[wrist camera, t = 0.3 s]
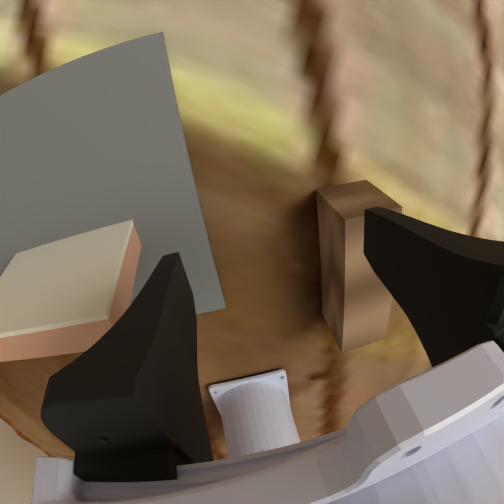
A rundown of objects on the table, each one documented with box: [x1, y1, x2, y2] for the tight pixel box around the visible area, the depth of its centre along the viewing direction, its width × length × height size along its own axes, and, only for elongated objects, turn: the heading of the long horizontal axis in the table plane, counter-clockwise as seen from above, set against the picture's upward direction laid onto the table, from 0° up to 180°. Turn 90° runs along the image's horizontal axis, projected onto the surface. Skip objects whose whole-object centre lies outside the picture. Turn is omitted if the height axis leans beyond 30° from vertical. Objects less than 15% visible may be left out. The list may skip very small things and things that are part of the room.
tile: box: [0, 220, 141, 362], centre depth 16 cm, size 2×10×9 cm, turn 99°
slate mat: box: [0, 32, 226, 314], centre depth 19 cm, size 20×19×1 cm
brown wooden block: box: [316, 180, 402, 353], centre depth 23 cm, size 12×4×5 cm, turn 9°
